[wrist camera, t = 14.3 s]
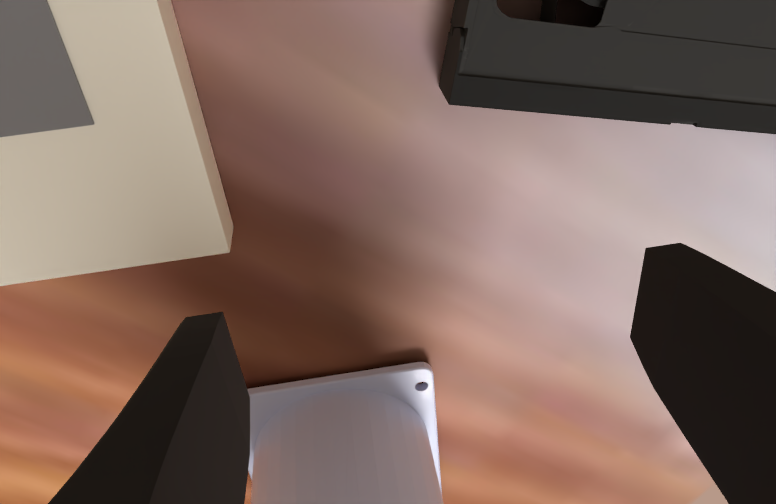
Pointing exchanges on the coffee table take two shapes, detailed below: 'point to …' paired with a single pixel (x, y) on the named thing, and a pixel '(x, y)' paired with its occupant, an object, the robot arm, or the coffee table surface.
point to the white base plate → (101, 142)
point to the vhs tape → (621, 62)
